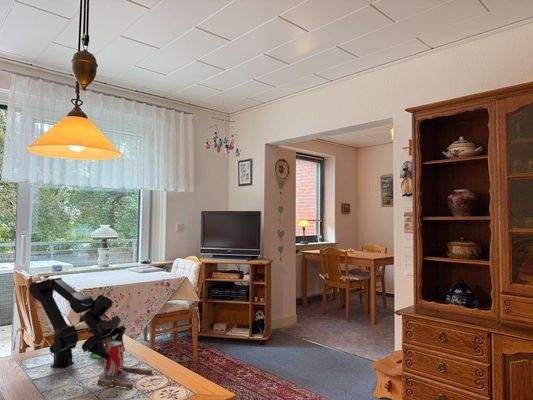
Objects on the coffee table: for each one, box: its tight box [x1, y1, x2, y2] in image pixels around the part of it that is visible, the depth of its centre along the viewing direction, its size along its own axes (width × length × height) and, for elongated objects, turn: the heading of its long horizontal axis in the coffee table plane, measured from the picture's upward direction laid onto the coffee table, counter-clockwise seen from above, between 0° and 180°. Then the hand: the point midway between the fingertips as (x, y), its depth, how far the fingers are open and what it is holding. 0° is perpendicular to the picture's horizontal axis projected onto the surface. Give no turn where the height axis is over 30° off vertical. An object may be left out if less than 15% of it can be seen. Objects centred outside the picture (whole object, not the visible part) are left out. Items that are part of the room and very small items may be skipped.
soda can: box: [103, 341, 125, 377], centre depth 150 cm, size 7×7×12 cm
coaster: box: [98, 370, 127, 381], centre depth 149 cm, size 10×10×1 cm
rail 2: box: [123, 365, 153, 375], centre depth 153 cm, size 14×1×2 cm, turn 76°
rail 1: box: [97, 378, 134, 389], centre depth 140 cm, size 14×1×2 cm, turn 76°
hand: (116, 355), depth 149 cm, fingers open, 8 cm apart
